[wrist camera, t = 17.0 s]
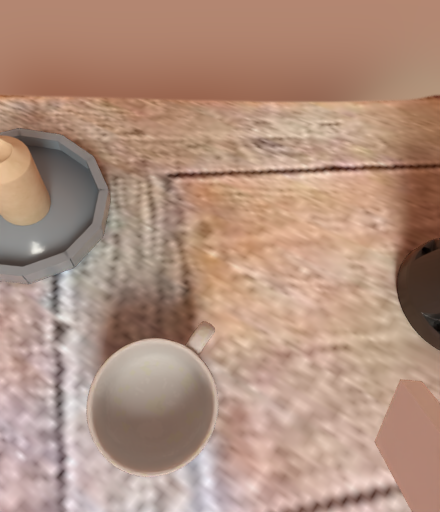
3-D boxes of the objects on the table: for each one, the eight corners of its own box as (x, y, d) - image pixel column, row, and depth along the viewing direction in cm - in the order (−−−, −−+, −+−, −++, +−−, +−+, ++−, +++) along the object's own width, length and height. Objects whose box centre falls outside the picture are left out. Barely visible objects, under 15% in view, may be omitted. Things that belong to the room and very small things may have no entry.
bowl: (119, 155, 50) (118, 143, 47) (92, 290, 43) (89, 283, 40) (-32, 133, 47) (-41, 118, 45) (-87, 271, 40) (-101, 263, 38)
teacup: (148, 492, 36) (148, 511, 29) (74, 404, 38) (56, 401, 31) (248, 383, 42) (269, 376, 34) (178, 310, 43) (185, 288, 36)
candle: (-5, 189, 44) (-45, 129, 35) (46, 179, 46) (21, 120, 37) (2, 231, 43) (-37, 180, 33) (55, 220, 44) (31, 168, 35)
